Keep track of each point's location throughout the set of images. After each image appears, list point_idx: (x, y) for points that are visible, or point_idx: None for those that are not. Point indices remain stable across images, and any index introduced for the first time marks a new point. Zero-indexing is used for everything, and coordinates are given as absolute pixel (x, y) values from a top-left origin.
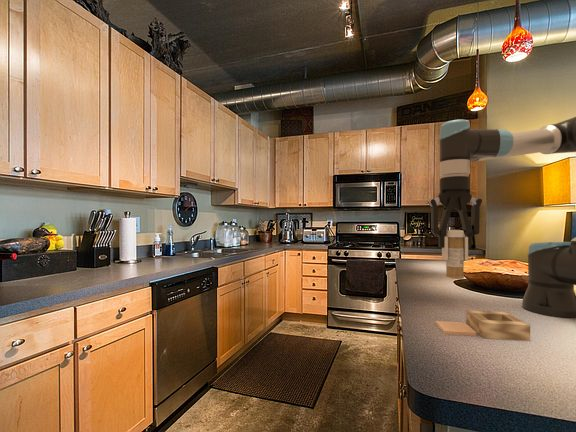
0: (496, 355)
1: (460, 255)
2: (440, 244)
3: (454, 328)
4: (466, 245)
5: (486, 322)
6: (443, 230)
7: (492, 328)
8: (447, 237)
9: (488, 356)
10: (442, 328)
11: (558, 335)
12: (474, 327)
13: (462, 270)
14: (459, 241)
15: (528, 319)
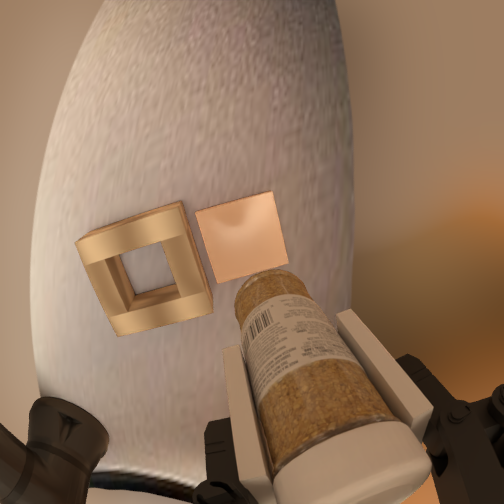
0: (170, 101)
1: (274, 342)
2: (420, 367)
3: (246, 223)
4: (242, 419)
5: (169, 215)
6: (470, 441)
7: (157, 211)
8: (413, 413)
9: (188, 87)
10: (276, 209)
11: (45, 294)
12: (196, 251)
13: (246, 306)
14: (311, 413)
15: (91, 373)
